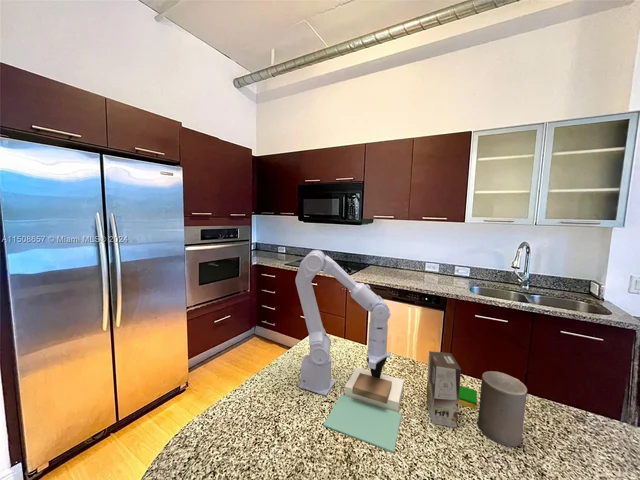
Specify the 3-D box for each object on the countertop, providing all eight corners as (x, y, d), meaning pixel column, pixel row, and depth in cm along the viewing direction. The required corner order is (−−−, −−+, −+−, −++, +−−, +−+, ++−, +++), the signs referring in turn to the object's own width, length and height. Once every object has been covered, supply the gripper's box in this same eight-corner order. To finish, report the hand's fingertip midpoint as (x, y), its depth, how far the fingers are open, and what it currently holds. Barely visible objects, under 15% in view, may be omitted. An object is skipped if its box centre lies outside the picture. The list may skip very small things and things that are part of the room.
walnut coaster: (352, 393, 78) (352, 386, 78) (359, 378, 85) (360, 372, 85) (386, 403, 74) (387, 397, 74) (391, 387, 81) (391, 381, 81)
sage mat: (323, 426, 69) (323, 424, 69) (341, 395, 81) (341, 394, 81) (393, 452, 62) (393, 451, 61) (401, 415, 74) (401, 413, 74)
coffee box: (458, 428, 70) (462, 369, 68) (432, 424, 71) (435, 366, 70) (448, 405, 78) (451, 352, 77) (425, 401, 80) (428, 350, 79)
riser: (344, 395, 81) (344, 386, 81) (355, 375, 92) (356, 367, 92) (398, 412, 75) (398, 402, 74) (403, 388, 86) (403, 379, 85)
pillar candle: (469, 423, 71) (473, 370, 70) (492, 413, 75) (496, 363, 74) (507, 453, 63) (513, 393, 61) (531, 439, 67) (537, 383, 65)
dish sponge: (429, 382, 90) (429, 375, 90) (476, 397, 83) (476, 390, 83) (425, 394, 84) (426, 386, 84) (476, 411, 77) (476, 403, 77)
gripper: (386, 350, 75) (384, 396, 76) (394, 331, 88) (392, 371, 89) (362, 345, 78) (360, 389, 79) (373, 327, 91) (371, 365, 92)
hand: (375, 379), depth 84 cm, fingers closed
